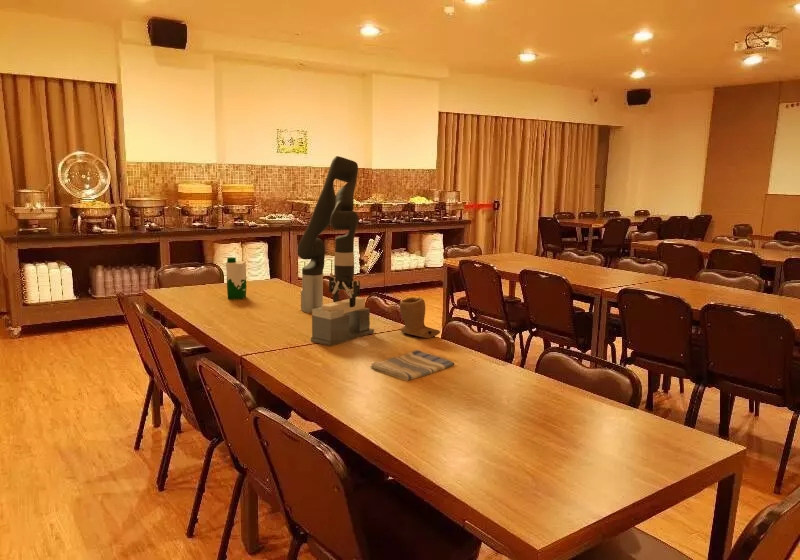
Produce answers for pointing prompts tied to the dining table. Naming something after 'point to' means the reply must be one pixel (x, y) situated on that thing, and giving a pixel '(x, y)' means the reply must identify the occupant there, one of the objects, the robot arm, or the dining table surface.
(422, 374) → the dish towel
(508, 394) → the dining table surface
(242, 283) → the milk carton
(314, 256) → the robot arm
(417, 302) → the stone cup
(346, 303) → the rail
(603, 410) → the dining table surface
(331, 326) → the stand
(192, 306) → the dining table surface
